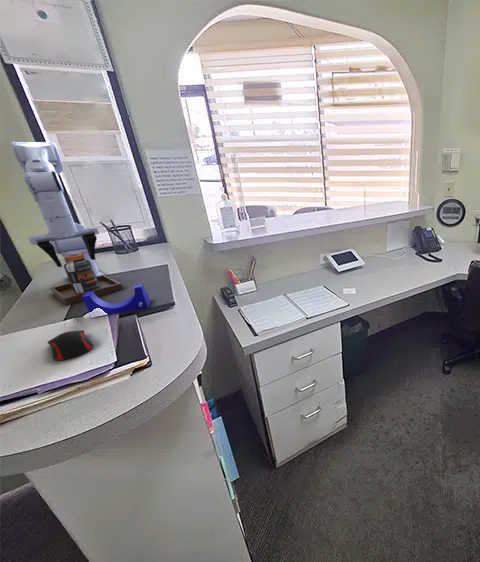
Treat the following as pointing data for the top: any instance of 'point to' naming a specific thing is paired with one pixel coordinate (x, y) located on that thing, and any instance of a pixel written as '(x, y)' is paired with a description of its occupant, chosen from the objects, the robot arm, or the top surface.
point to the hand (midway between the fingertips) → (76, 262)
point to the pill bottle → (80, 273)
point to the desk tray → (70, 296)
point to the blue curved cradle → (133, 303)
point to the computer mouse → (70, 345)
